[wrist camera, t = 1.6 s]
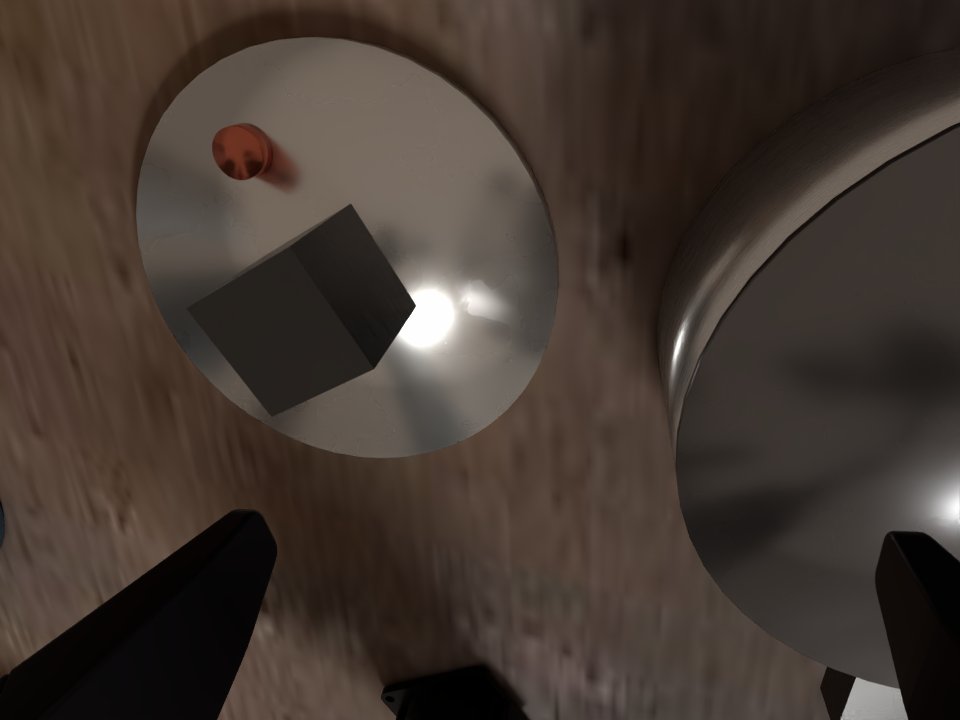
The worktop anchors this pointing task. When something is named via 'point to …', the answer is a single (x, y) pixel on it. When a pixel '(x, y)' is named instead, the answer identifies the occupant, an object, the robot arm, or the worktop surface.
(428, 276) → the lid
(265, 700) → the worktop surface
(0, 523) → the canister
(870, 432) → the pot
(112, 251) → the worktop surface
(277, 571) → the worktop surface
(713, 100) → the worktop surface
